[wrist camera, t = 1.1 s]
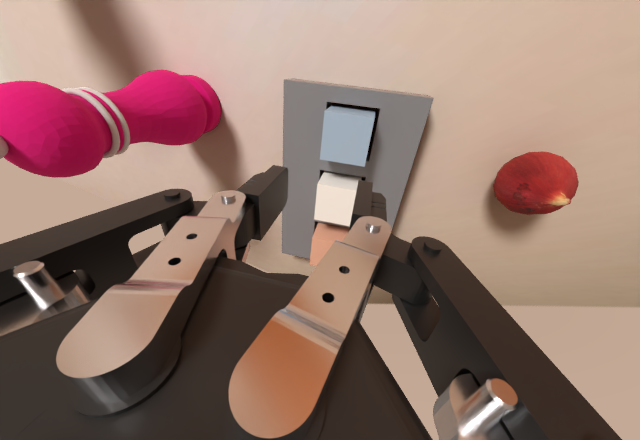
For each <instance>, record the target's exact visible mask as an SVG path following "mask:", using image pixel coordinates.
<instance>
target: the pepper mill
mask: <svg viewBox="0 0 640 440" xmlns="http://www.w3.org/2000/svg"><path fill="white" fill-rule="evenodd" d="M220 117H221V108H220V102H219V100H218V97H217V95H216V93H215V92H214V90H213V89H212V88H211V86H210V85H209V84H208V83H207V82H205V81H204V80H203V79H201V78H199V77H197V76H193V75H179V74H177V73H175V72H171V71H167V70H156V71H148V72H146V73H144V74H142V75H140V76H138V77H136V78H135V79H134V80H133V81H132V82H131V83H130V84H128V85H127V86H126V87H124V88H122V89H120V90H117V91H112V92H107V93H100V92H99V91H96V90H94V89H92V88H88V87H79V88H65V89H62V90H60V89H58V88H55V87H53V86H50V85H48V84H45V83H41V82H36V81H15V82H7V83H2V84H0V158H3V157H4V158H5V159H6V160H8V161H10V162H11V163H13V164H14V165H16V166H18V167H20V168H22V169H24V170H26V171H29V172H31V173H34V174H38V175H42V176H48V177H71V176H75V175H80V174H84V173H86V172H88V171H90V170H92V169H94V168H95V167H96V166H98V165H99V163H100V161H101V160H102V158H108V157H112V156H113V155H117V154H121V153H123V152H125V151H126V150H127V148H128V146H129V145H130V144H133V143H138V142H154V143H159V144H165V145H184V144H188V143H191V142H194V141H196V140H197V139H198V138H199V137H200V136H201V135H202V134H203V133H206V132H208V131H211V130H213V129H214V128H215V127H216V126H217V125H218V123H219V121H220Z"/></svg>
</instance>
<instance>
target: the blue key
mask: <svg viewBox="0 0 640 440" xmlns="http://www.w3.org/2000/svg"><path fill="white" fill-rule="evenodd" d="M374 119H375V111H370V110H363V109H356V108H348V107H341V106H333V105H332V106H330V107H329V108H328V109H326V110H325V111H324V121H323V132H322V142H321V152H320V160H326V161H332V162H338V163H345V164H351V165H357V166H363V167H365V163H366V158H367V153H368V148H369V143H370V138H371V134H372V129H373V124H374Z"/></svg>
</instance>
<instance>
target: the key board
mask: <svg viewBox="0 0 640 440" xmlns="http://www.w3.org/2000/svg"><path fill="white" fill-rule="evenodd" d="M432 101H433V98H432V97H430V96H428V95H421V94H412V93H404V92H396V91H388V90H380V89H372V88H364V87H356V86H348V85H339V84H331V83H323V82H315V81H307V80H299V79H285V80H284V115H283V167H287V168H288V198H287V203H286V205H285V207H284V208H283V210H282V253H285V254H289V255H294V256H298V257H303V258H308V259H310V255H311V245H312V237H313V234H314V232H315V229H316V227H317V224H318V222H322V223H327V224H332V225H337V226H342V227H347V228H349V227H350V226H345V225H340V224H335V223H330V222H325V221H320V220H315V219H314V214H315V204H316V193H317V184H318V182H319V180H320V178H321V176H322V175H323V173H324V170H325V171H331V172H337V173H343V174H349V175H354V176H360V177H365V180H364V181H368V182H373V188H372V192H376V193H381V194H382V195H383V196H384V197H385V198H386V212H387V223H388V224H389V225H390V226H391V228H393V225H394V221H395V218H396V215H397V212H398V209H399V206H400V202H401V199H402V196H403V193H404V190H405V187H406V184H407V180H408V177H409V174H410V171H411V168H412V165H413V161H414V158H415V155H416V152H417V149H418V146H419V143H420V139H421V136H422V133H423V130H424V127H425V124H426V120H427V117H428V114H429V111H430V108H431V105H432ZM331 102H334V103H342V104H349V105H357V106H364V107H372V108H379V114H378V118H377V123H376V128H375V133H374V137H373V142H372V147H371V151H370V154H369V153H367V158H366V163H365V167H363V166H357V165H351V164H345V163H338V162H332V161H326V160H320V152H321V142H322V132H323V121H324V111H325V110H326V109H328V108H329V107H330V106H331Z"/></svg>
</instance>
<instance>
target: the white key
mask: <svg viewBox="0 0 640 440" xmlns="http://www.w3.org/2000/svg"><path fill="white" fill-rule="evenodd" d="M359 180H362V177H360V176H354V175H348V174H342V173H336V172H330V171H324V173H323V175H322V176H321V178H320V180H319V182H318V184H317V193H316V204H315V214H314V219H315V220H320V221H325V222H330V223H335V224H340V225H345V226H350V222H351V217H352V211H353V206H354V201H355V196H356V191H357V186H358V181H359Z"/></svg>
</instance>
